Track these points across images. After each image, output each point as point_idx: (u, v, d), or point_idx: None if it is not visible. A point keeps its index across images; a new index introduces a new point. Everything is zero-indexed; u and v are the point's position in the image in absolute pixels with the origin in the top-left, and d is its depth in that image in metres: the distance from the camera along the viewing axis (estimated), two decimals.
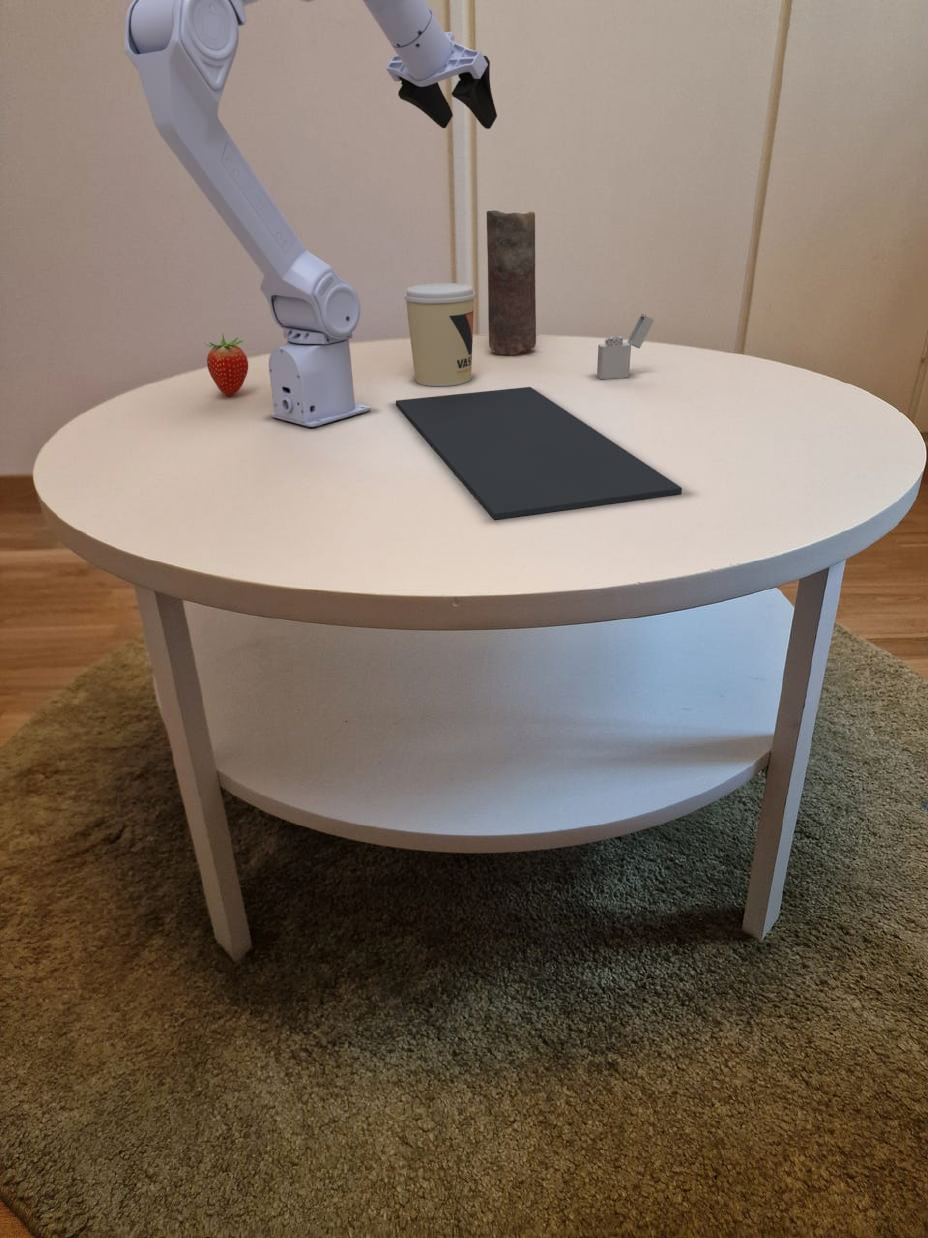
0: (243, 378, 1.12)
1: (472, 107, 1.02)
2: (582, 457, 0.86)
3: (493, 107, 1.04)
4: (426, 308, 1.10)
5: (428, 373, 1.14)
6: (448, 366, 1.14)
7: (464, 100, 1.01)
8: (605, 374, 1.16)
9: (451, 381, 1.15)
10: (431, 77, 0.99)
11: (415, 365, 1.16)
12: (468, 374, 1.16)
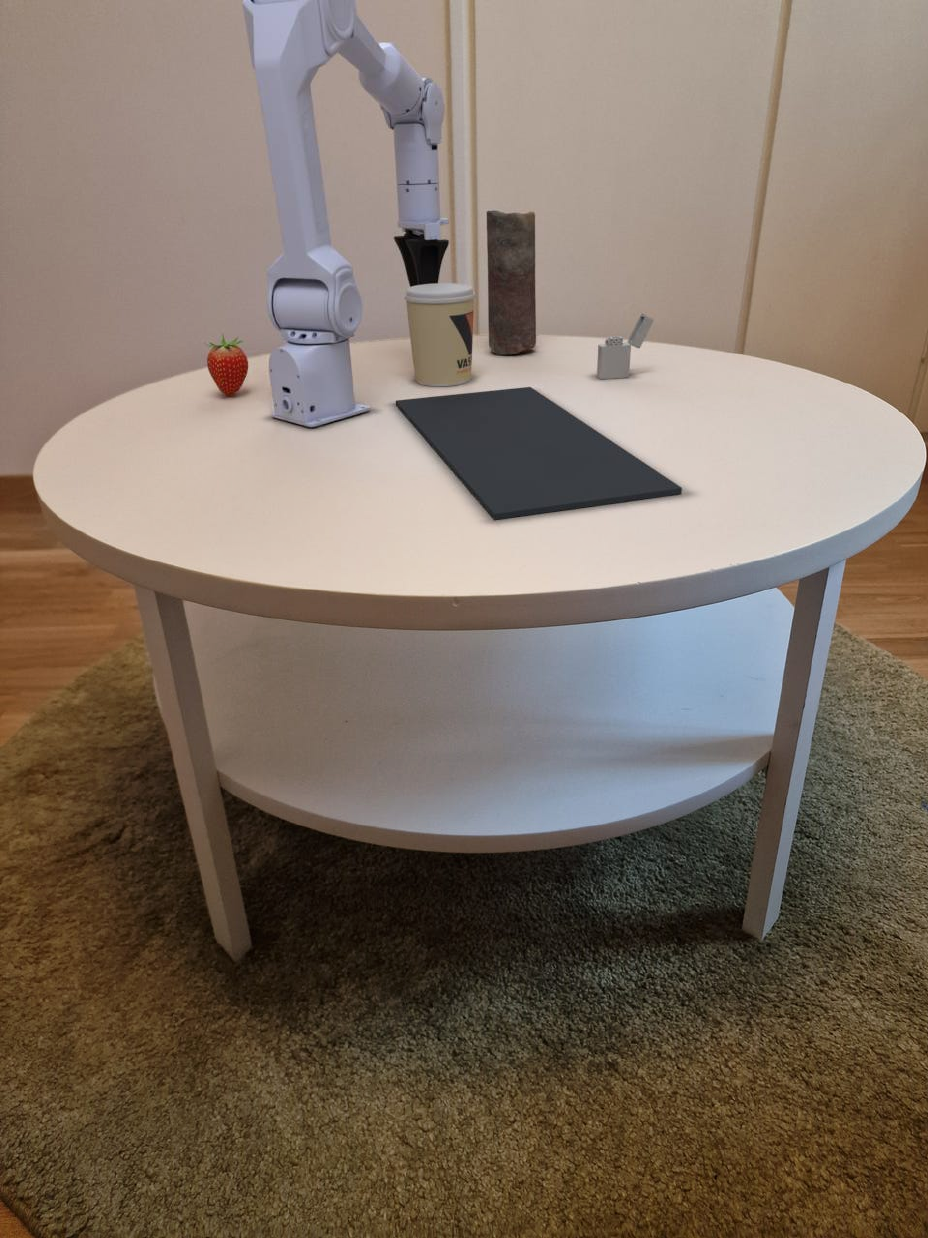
0: (243, 378, 1.12)
1: (415, 263, 1.16)
2: (582, 457, 0.86)
3: None
4: (426, 308, 1.10)
5: (428, 373, 1.14)
6: (448, 366, 1.14)
7: (411, 251, 1.15)
8: (605, 374, 1.16)
9: (451, 381, 1.15)
10: (404, 221, 1.15)
11: (415, 365, 1.16)
12: (468, 374, 1.16)
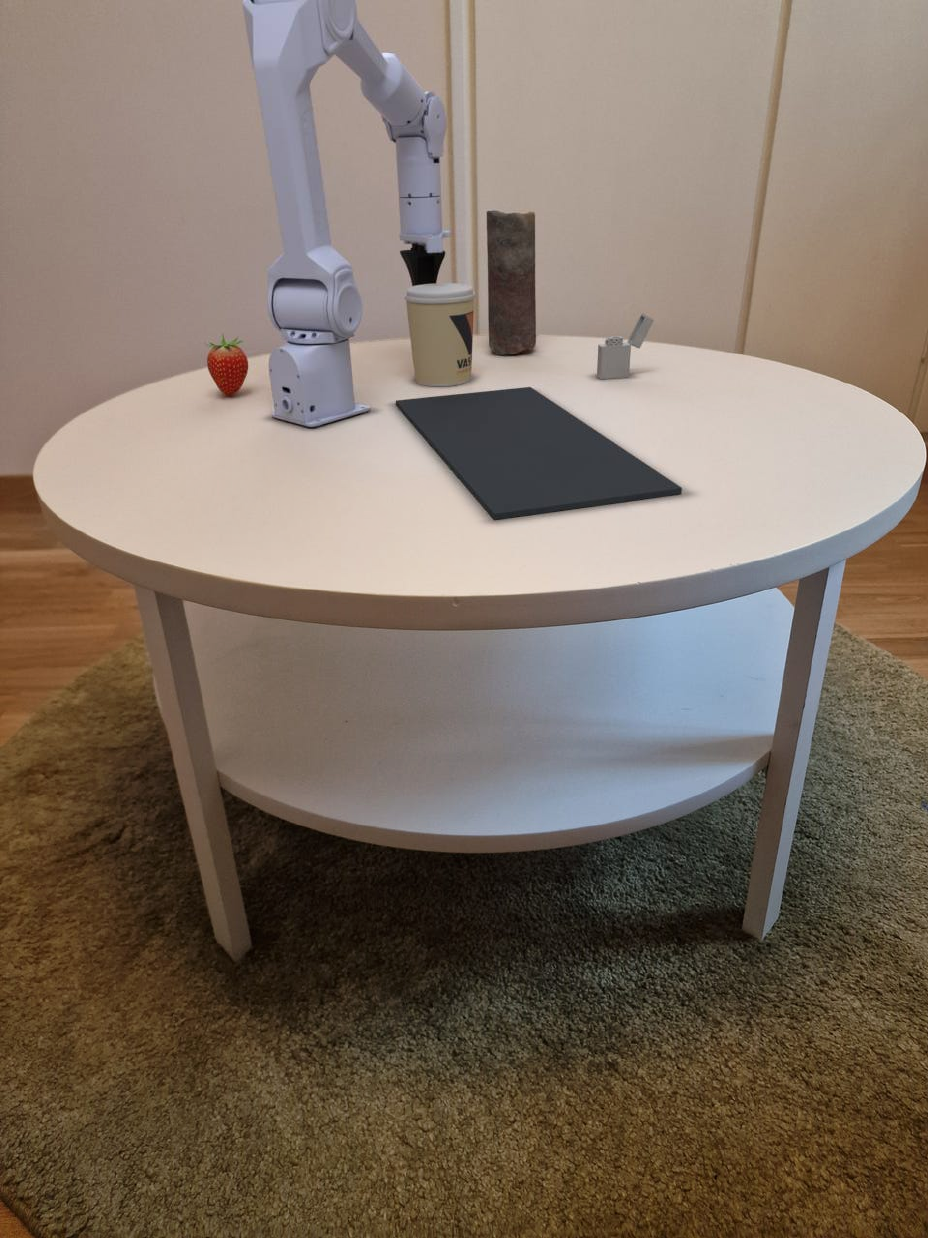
0: (243, 378, 1.12)
1: (412, 273, 1.18)
2: (582, 457, 0.86)
3: None
4: (426, 308, 1.10)
5: (428, 373, 1.14)
6: (448, 366, 1.14)
7: (408, 262, 1.17)
8: (605, 374, 1.16)
9: (451, 381, 1.15)
10: (406, 234, 1.15)
11: (415, 365, 1.16)
12: (468, 374, 1.16)
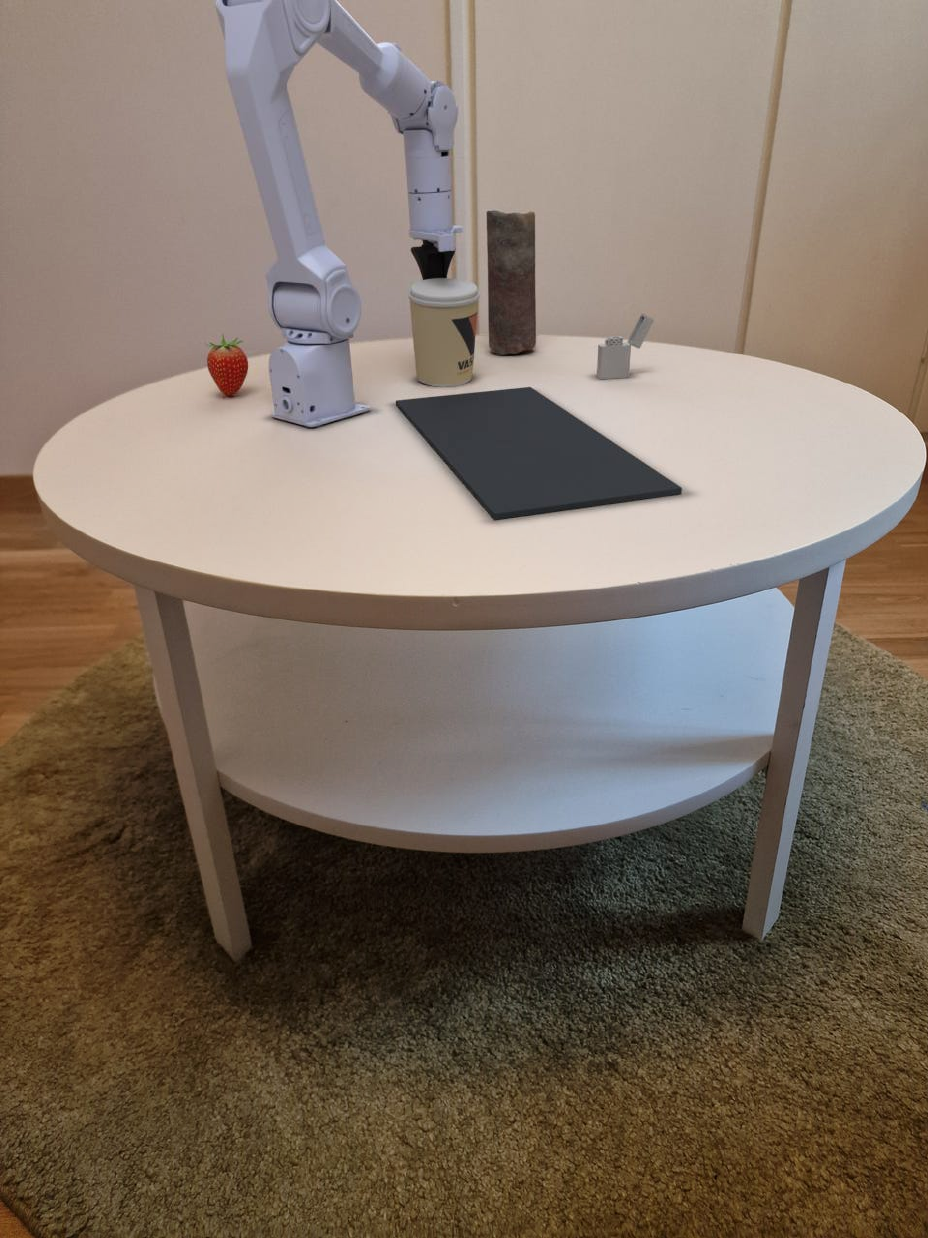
0: (243, 378, 1.12)
1: (421, 271, 1.14)
2: (582, 457, 0.86)
3: None
4: (428, 311, 1.09)
5: (429, 373, 1.14)
6: (449, 368, 1.13)
7: (417, 259, 1.13)
8: (605, 374, 1.16)
9: (451, 382, 1.15)
10: (416, 231, 1.10)
11: (416, 363, 1.15)
12: (469, 374, 1.16)
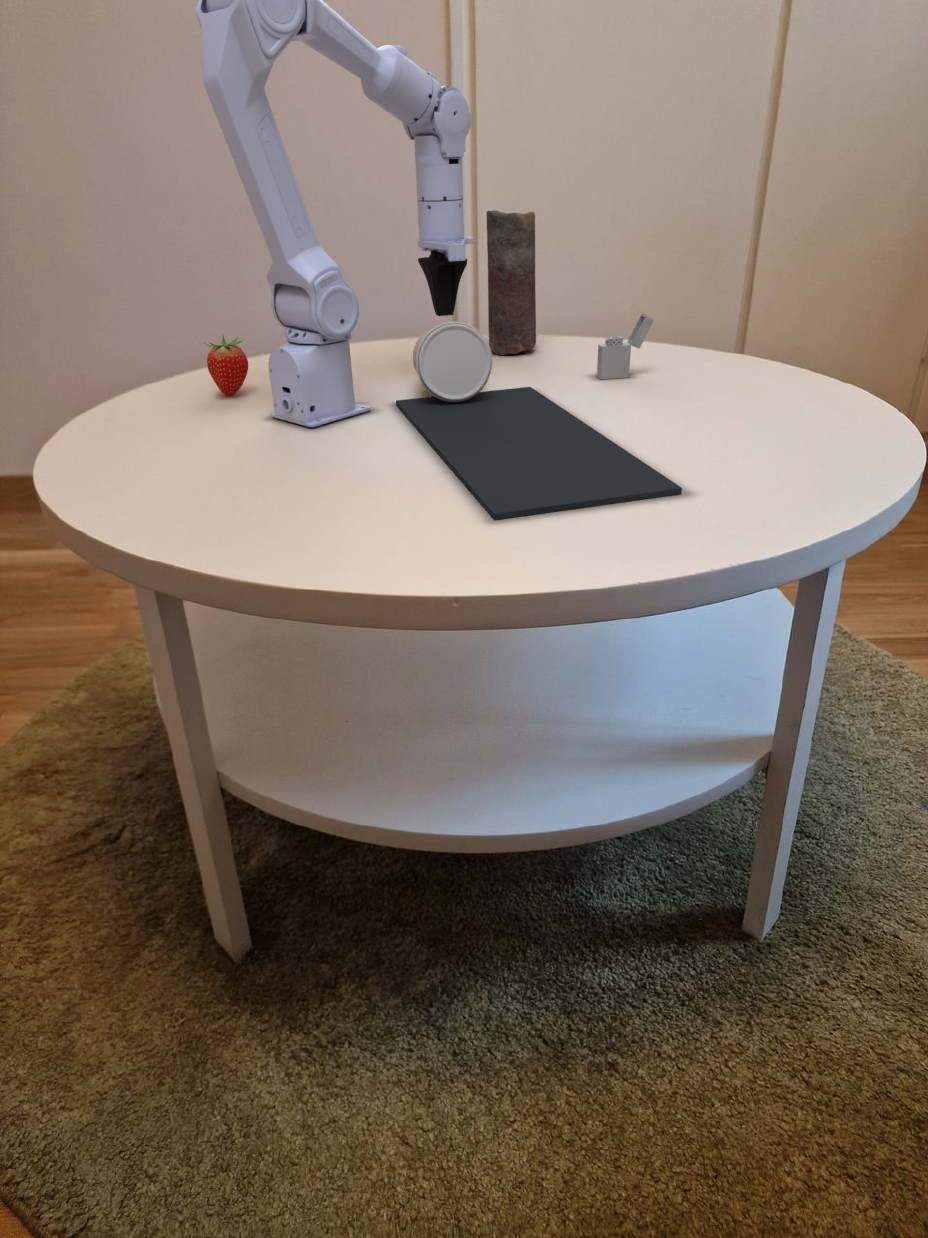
0: (243, 378, 1.12)
1: (431, 283, 1.09)
2: (582, 457, 0.86)
3: (452, 305, 1.11)
4: None
5: None
6: None
7: (427, 271, 1.08)
8: (605, 374, 1.16)
9: None
10: (425, 241, 1.06)
11: None
12: None
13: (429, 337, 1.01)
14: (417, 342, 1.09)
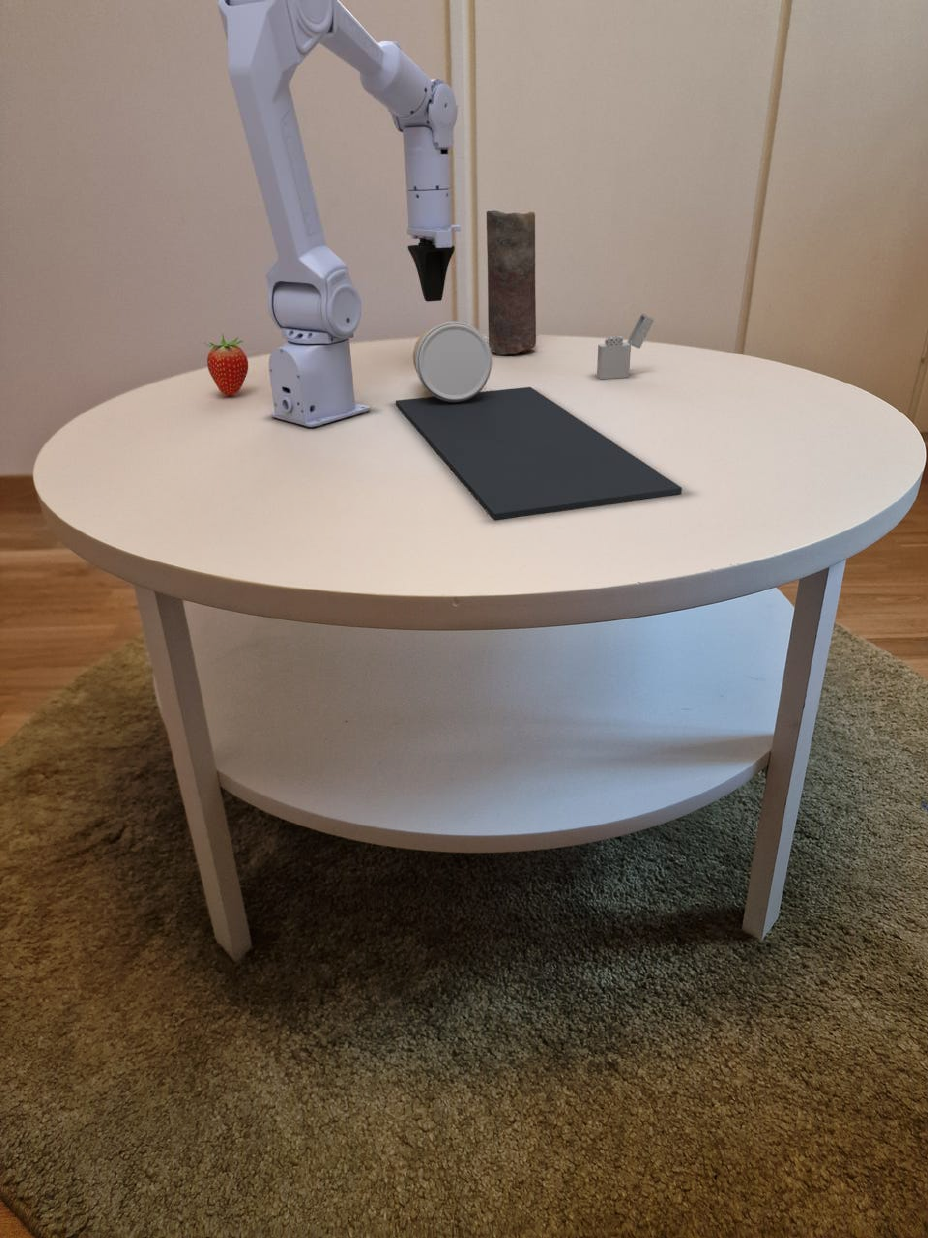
0: (243, 378, 1.12)
1: (420, 270, 1.13)
2: (582, 457, 0.86)
3: (440, 290, 1.15)
4: None
5: None
6: None
7: (416, 257, 1.13)
8: (605, 374, 1.16)
9: None
10: (414, 228, 1.10)
11: None
12: None
13: (429, 337, 1.01)
14: (417, 342, 1.09)
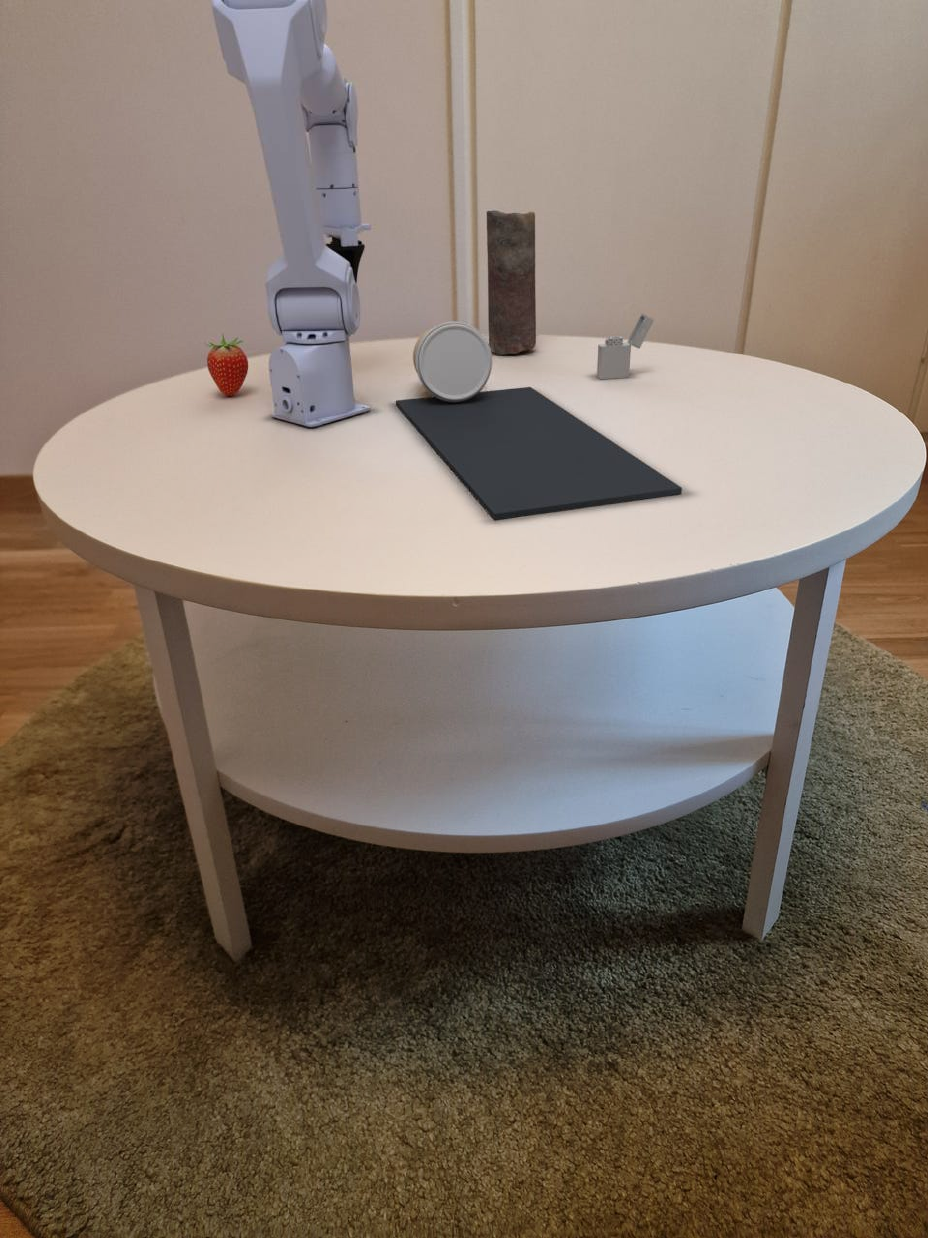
0: (243, 378, 1.12)
1: None
2: (582, 457, 0.86)
3: None
4: None
5: None
6: None
7: None
8: (605, 374, 1.16)
9: None
10: None
11: None
12: None
13: (429, 337, 1.01)
14: (417, 342, 1.09)
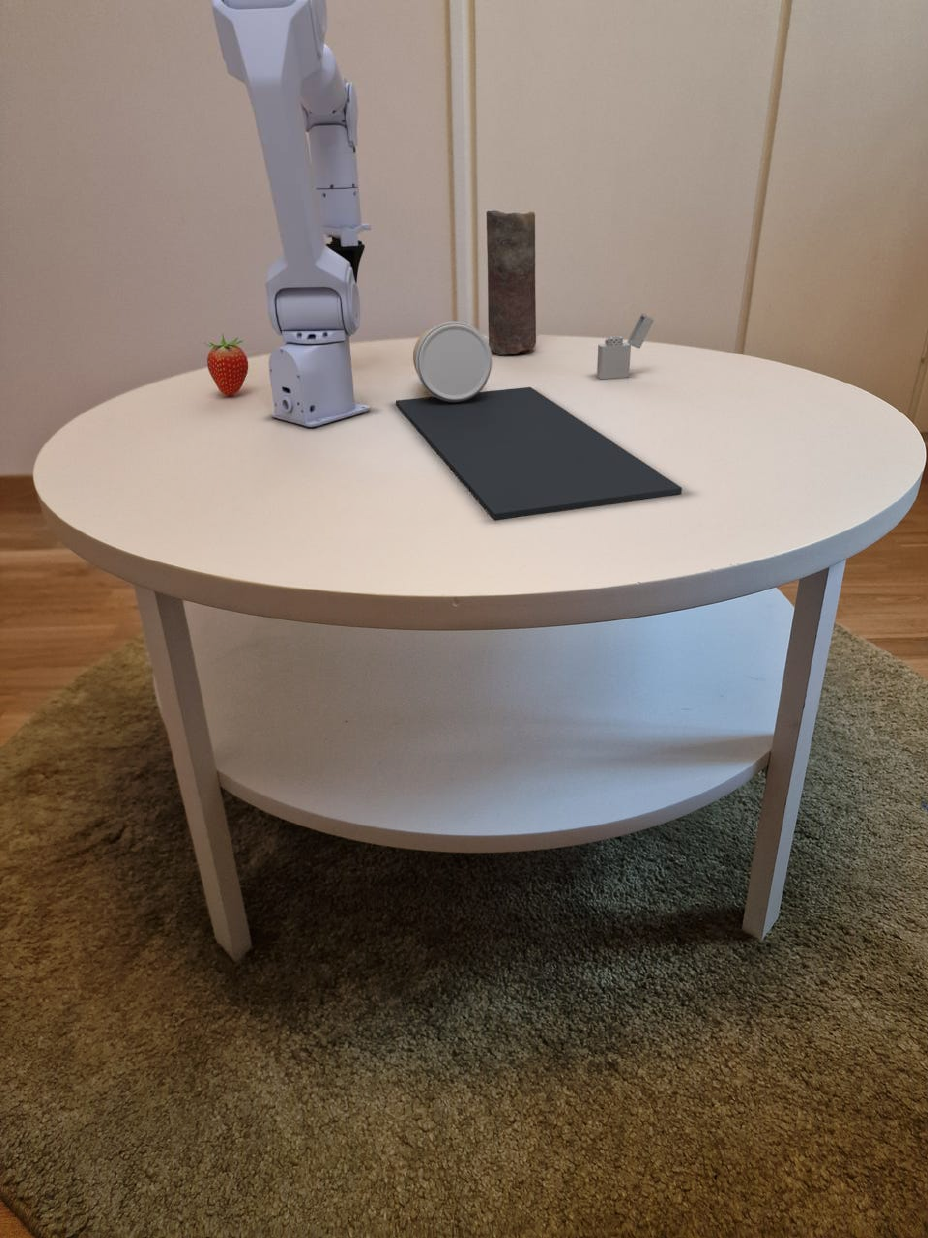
0: (243, 378, 1.12)
1: None
2: (582, 457, 0.86)
3: None
4: None
5: None
6: None
7: None
8: (605, 374, 1.16)
9: None
10: None
11: None
12: None
13: (429, 337, 1.01)
14: (417, 342, 1.09)
